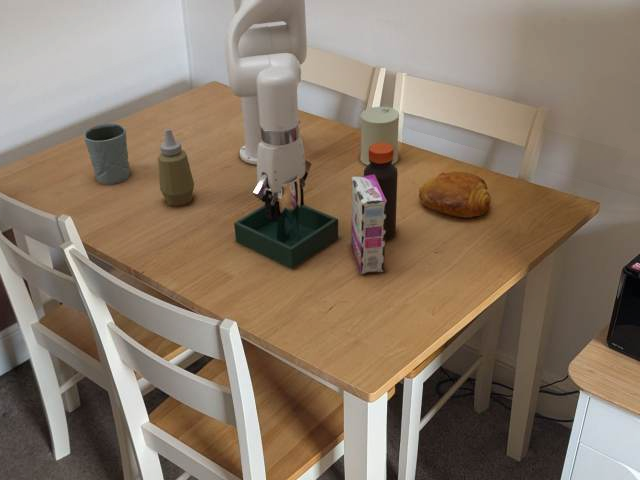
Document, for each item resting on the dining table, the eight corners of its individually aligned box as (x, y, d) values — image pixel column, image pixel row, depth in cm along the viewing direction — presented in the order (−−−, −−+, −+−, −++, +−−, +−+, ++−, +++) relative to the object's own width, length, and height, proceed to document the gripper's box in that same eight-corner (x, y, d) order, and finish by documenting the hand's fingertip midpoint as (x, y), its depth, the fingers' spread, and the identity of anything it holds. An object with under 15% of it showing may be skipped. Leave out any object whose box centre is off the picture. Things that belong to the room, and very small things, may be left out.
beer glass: (306, 231, 173) (304, 169, 164) (297, 249, 168) (294, 186, 159) (276, 228, 175) (271, 167, 166) (266, 245, 170) (261, 183, 161)
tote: (282, 213, 180) (280, 195, 177) (338, 238, 171) (338, 218, 168) (235, 241, 173) (233, 222, 170) (292, 269, 163) (291, 249, 160)
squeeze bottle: (191, 209, 185) (180, 138, 174) (158, 208, 187) (145, 137, 175) (200, 192, 191) (190, 121, 180) (167, 191, 193) (155, 121, 182)
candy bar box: (385, 272, 159) (387, 200, 149) (361, 275, 159) (361, 203, 149) (374, 242, 168) (375, 172, 158) (350, 245, 168) (350, 175, 158)
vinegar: (387, 245, 167) (389, 158, 155) (358, 237, 170) (358, 152, 158) (400, 229, 171) (403, 143, 159) (371, 222, 175) (372, 137, 162)
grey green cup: (86, 183, 199) (75, 138, 192) (106, 164, 207) (97, 121, 199) (121, 187, 196) (112, 142, 189) (140, 168, 203) (132, 124, 196)
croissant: (468, 236, 171) (475, 205, 165) (407, 206, 178) (412, 176, 173) (502, 205, 179) (510, 176, 173) (442, 178, 186) (448, 149, 180)
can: (404, 154, 198) (406, 108, 191) (388, 170, 192) (389, 123, 185) (370, 147, 202) (370, 102, 195) (353, 163, 196) (353, 117, 189)
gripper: (295, 112, 163) (299, 189, 174) (234, 144, 154) (243, 223, 165) (323, 121, 159) (325, 199, 170) (262, 154, 149) (269, 235, 161)
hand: (285, 210), depth 167 cm, fingers closed on beer glass, 7 cm apart
